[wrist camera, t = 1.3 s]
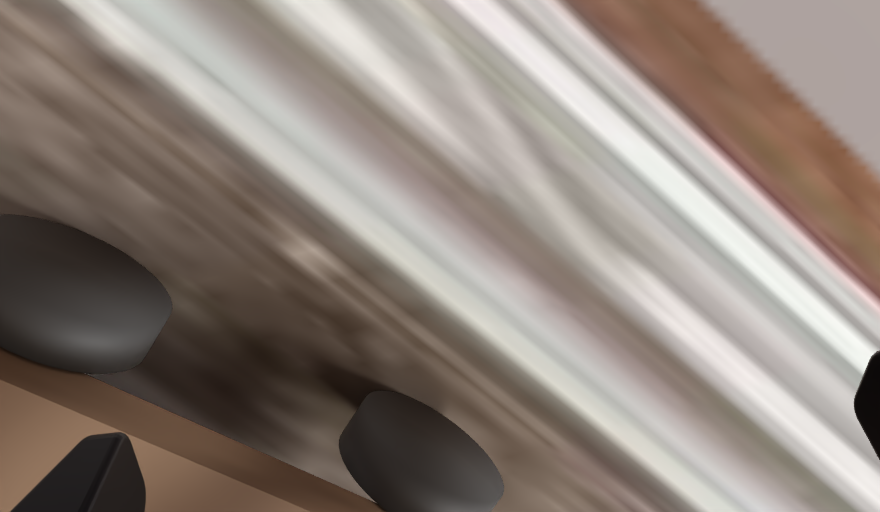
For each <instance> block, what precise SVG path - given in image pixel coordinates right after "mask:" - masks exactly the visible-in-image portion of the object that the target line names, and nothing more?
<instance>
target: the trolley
mask: <svg viewBox="0 0 880 512" xmlns="http://www.w3.org/2000/svg"><path fill="white" fill-rule="evenodd" d="M171 312H172V302H171V298H170V296H169V294H168V292H167V291H166V289H165V288H164V286H163V285H162V284H161V283H160V282H159V280H158V279H157V278H156V277H155V276H154V275H153V274H152V273H150V272H149V271H148V270H147V269H146V268H144V267H143V266H142V265H141V264H139V263H138V262H137V261H135V260H134V259H132V258H131V257H129V256H128V255H126V254H125V253H123V252H121V251H120V250H118V249H116V248H114V247H113V246H111V245H109V244H107V243H105V242H103V241H101V240H99V239H97V238H95V237H92V236H90V235H88V234H85V233H83V232H81V231H78V230H75V229H73V228H70V227H67V226H64V225H61V224H58V223H54V222H51V221H47V220H43V219H38V218H34V217H28V216H21V215H0V512H10V511H11V510H12V509H13V508H14V507H15V506H16V505H17V504H18V503H19V502H20V501H21V500H22V499H23V498H24V497H25V496H26V495H27V494H28V493H29V492H30V491H31V490H32V489H33V488H34V487H35V486H36V485H37V484H38V483H39V482H40V481H41V480H42V479H43V478H44V477H45V476H46V475H47V474H48V473H49V472H50V471H51V470H52V469H53V468H54V467H55V466H56V465H57V464H58V463H59V462H60V461H61V460H62V459H63V458H64V457H65V456H66V455H67V454H68V453H69V452H70V451H71V450H72V449H73V448H74V447H75V446H76V445H77V444H78V443H79V442H80V441H81V440H82V439H84V438H85V437H87V436H90V435H96V434H105V433H114V432H122V433H125V434H126V435H127V436H128V437H129V439H130V441H131V443H132V446H133V449H134V452H135V455H136V458H137V461H138V464H139V467H140V470H141V473H142V476H143V479H144V482H145V488H146V504H145V512H491V511H492V509H493V508H494V506H495V505H496V504H497V502H498V501H499V499H500V498H501V497H502V495H503V492H504V485H503V480H502V478H501V475H500V473H499V471H498V469H497V468H496V466H495V465H494V463H493V462H492V460H491V459H490V458H489V456H488V455H487V454H486V453H485V452H484V450H483V449H482V448H481V447H480V446H479V445H478V444H477V443H476V442H475V441H474V440H473V439H472V438H471V437H470V436H469V435H468V434H466V433H465V432H464V431H463V430H462V429H461V428H459V427H458V426H457V425H456V424H454V423H453V422H452V421H450V420H449V419H447V418H446V417H444V416H443V415H441V414H440V413H438V412H437V411H435V410H433V409H432V408H430V407H428V406H426V405H425V404H423V403H421V402H419V401H417V400H414V399H412V398H410V397H407V396H405V395H402V394H399V393H395V392H390V391H374V392H371V393H369V394H368V395H367V396H366V397H365V399H364V401H363V402H362V404H361V405H360V407H359V408H358V410H357V411H356V413H355V414H354V416H353V417H352V419H351V420H350V422H349V423H348V425H347V426H346V428H345V429H344V431H343V432H342V434H341V436H340V439H339V449H340V454H341V457H342V459H343V461H344V463H345V465H346V467H347V469H348V471H349V472H350V474H351V475H352V477H353V478H354V479H355V481H356V482H357V483H358V484H359V485H360V487H361V488H362V489H363V490H364V491H365V492H366V493H367V494H368V495H369V496H370V497H371V498H372V499H373V500H374V501H375V502H376V503H375V502H372V501H370V500H368V499H366V498H363V497H361V496H359V495H357V494H354V493H352V492H350V491H348V490H345V489H343V488H341V487H339V486H336V485H334V484H332V483H330V482H327V481H325V480H323V479H321V478H318V477H316V476H314V475H312V474H309V473H307V472H305V471H303V470H300V469H298V468H296V467H294V466H291V465H289V464H287V463H285V462H282V461H280V460H278V459H276V458H273V457H271V456H269V455H267V454H264V453H262V452H260V451H258V450H255V449H253V448H251V447H248V446H246V445H244V444H242V443H239V442H237V441H235V440H233V439H230V438H228V437H226V436H224V435H221V434H219V433H217V432H215V431H212V430H210V429H208V428H206V427H203V426H201V425H199V424H197V423H194V422H192V421H190V420H188V419H185V418H183V417H181V416H179V415H176V414H174V413H172V412H170V411H167V410H165V409H163V408H161V407H158V406H156V405H154V404H152V403H149V402H147V401H145V400H143V399H140V398H138V397H136V396H134V395H131V394H129V393H127V392H125V391H122V390H120V389H118V388H116V387H113V386H111V385H109V384H107V383H104V382H102V381H100V380H98V379H95V378H93V377H91V376H89V375H86V374H84V373H90V374H108V373H117V372H123V371H126V370H129V369H131V368H133V367H135V366H137V365H138V364H139V363H141V362H142V361H143V359H144V358H145V356H146V355H147V353H148V351H149V350H150V348H151V346H152V345H153V343H154V341H155V340H156V338H157V336H158V335H159V333H160V331H161V330H162V328H163V326H164V325H165V323H166V321H167V319H168V318H169V316H170V314H171ZM377 503H378V504H377Z"/></svg>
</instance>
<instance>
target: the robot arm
mask: <svg viewBox="0 0 880 512" xmlns="http://www.w3.org/2000/svg"><path fill="white" fill-rule="evenodd" d="M854 410H855V413H856V416H857V419H858V421H859V423H860V424H861V426H862V428H863V430H864V432H865V434H866V436H867V437H868V439H869V441H870V443H871V445H872V447H873V449H874V450H875V452H876V454H877V456H878V458H879V460H880V351H877V352H876V353H875V354H873V355H872V357H871V358H870V360H869V363H868V365H867V368H866V370H865V373H864V375H863V377H862V380H861V382H860V385H859V387H858V390H857V392H856V395H855V398H854ZM145 504H146V488H145V482H144V479H143V476H142V473H141V470H140V467H139V464H138V461H137V458H136V455H135V452H134V449H133V446H132V443H131V441H130V439H129V437H128V436H127V435H126V434H125V433H122V432H114V433H105V434H96V435H90V436H87V437H85V438H84V439H82V440H81V441H80V442H79V443H78V444H77V445H76V446H75V447H74V448H73V449H72V450H71V451H70V452H69V453H68V454H67V455H66V456H65V457H64V458H63V459H62V460H61V461H60V462H59V463H58V464H57V465H56V466H55V467H54V468H53V469H52V470H51V471H50V472H49V473H48V474H47V475H46V476H45V477H44V478H43V479H42V480H41V481H40V482H39V483H38V484H37V485H36V486H35V487H34V488H33V489H32V490H31V491H30V492H29V493H28V494H27V495H26V496H25V497H24V498H23V499H22V500H21V501H20V502H19V503H18V504H17V505H16V506H15V507H14V508H13V509H12V510H11V511H10V512H145Z"/></svg>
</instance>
